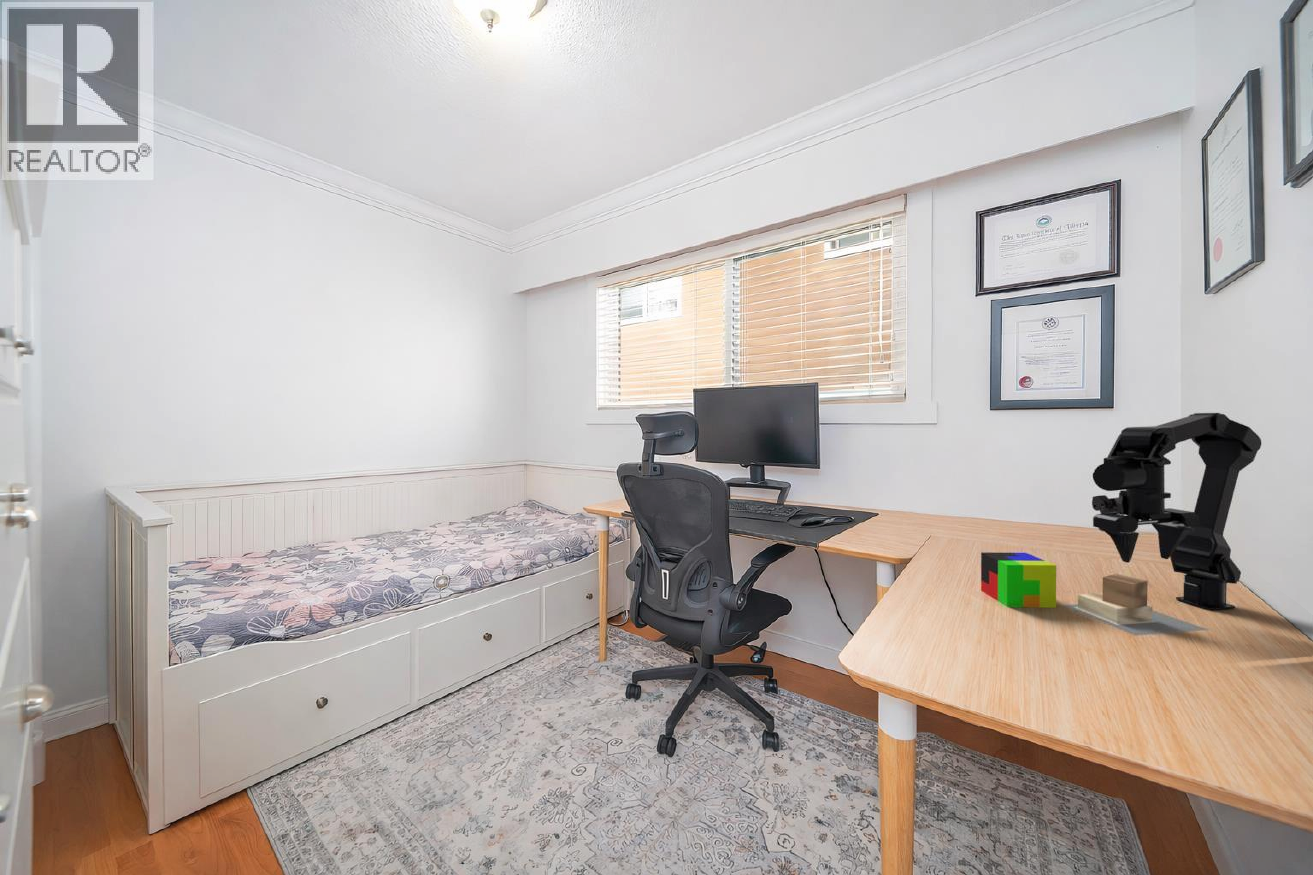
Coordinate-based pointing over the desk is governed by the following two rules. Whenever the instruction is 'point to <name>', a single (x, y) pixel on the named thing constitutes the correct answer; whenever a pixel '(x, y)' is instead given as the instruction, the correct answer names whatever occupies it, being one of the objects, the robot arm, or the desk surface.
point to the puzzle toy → (1018, 579)
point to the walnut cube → (1125, 591)
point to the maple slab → (1113, 609)
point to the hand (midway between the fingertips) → (1145, 560)
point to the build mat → (1146, 623)
